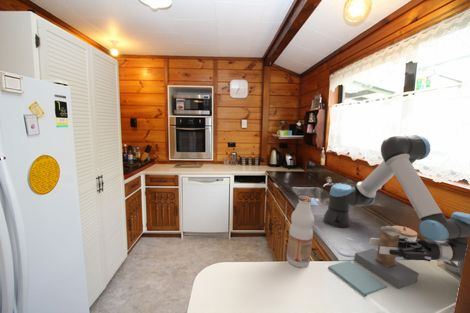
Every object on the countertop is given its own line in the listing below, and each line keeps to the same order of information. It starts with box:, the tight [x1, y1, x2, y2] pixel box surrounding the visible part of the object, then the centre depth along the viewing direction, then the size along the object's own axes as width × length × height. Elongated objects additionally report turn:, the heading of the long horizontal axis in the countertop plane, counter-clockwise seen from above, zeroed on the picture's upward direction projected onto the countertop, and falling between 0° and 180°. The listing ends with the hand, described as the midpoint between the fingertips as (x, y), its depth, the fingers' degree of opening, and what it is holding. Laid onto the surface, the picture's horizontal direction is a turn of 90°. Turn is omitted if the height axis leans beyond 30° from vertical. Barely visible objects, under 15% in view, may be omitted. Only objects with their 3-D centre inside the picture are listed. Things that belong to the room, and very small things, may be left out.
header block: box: [353, 248, 420, 289], centre depth 92 cm, size 18×12×4 cm, turn 24°
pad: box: [327, 260, 388, 297], centre depth 87 cm, size 16×12×1 cm
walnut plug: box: [376, 225, 401, 268], centre depth 91 cm, size 5×5×18 cm
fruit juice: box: [286, 195, 315, 268], centre depth 94 cm, size 9×9×28 cm
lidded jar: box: [391, 225, 418, 242], centre depth 116 cm, size 11×11×9 cm
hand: (375, 245), depth 91 cm, fingers closed on walnut plug, 6 cm apart
